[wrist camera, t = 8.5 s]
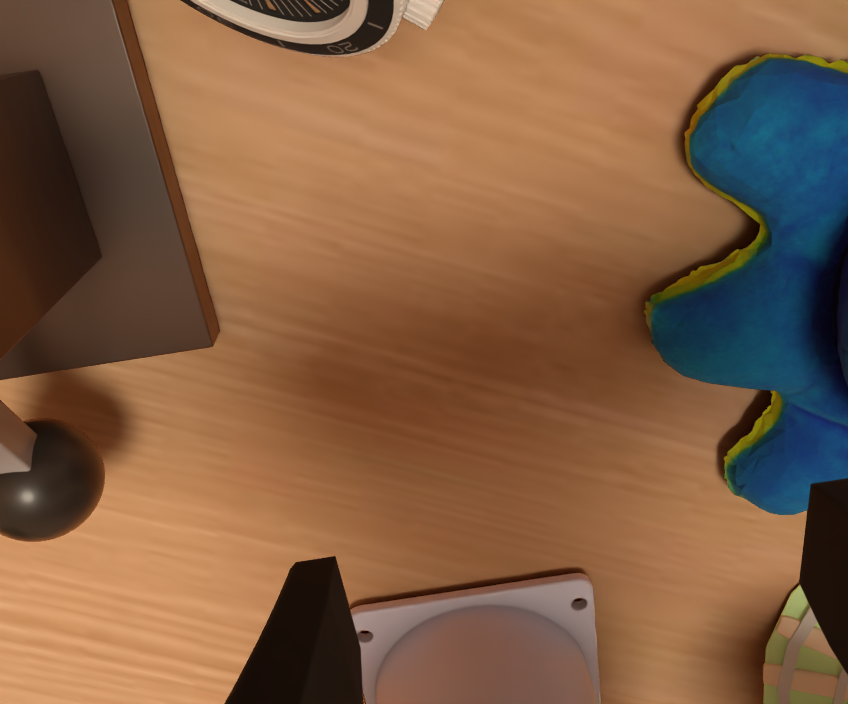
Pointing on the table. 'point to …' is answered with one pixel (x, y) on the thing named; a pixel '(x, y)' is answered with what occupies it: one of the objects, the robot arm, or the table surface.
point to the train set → (801, 660)
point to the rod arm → (46, 477)
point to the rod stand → (88, 198)
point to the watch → (320, 22)
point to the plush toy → (773, 273)
